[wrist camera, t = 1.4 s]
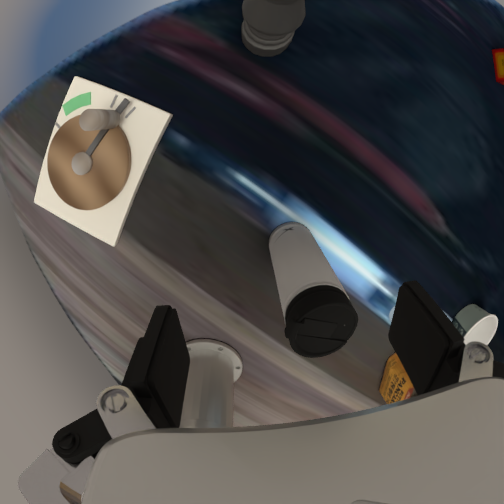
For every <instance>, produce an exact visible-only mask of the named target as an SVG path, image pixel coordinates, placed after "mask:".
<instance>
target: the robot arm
mask: <svg viewBox="0 0 504 504" xmlns="http://www.w3.org/2000/svg"><path fill="white" fill-rule="evenodd" d="M464 340H465V339H464V337H463V336H462V335H461V334H460V332H459V331H458V330H457V328H456V327H455V326H454V325H453V323H452V322H451V321H450V320H449V318H448V317H447V316H446V315H445V313H444V312H443V311H442V310H441V309H440V307H439V306H438V305H437V304H436V303H435V301H434V300H433V299H432V298H431V297H430V295H429V294H428V293H427V292H426V291H425V290H424V289H423V287H422V286H421V285H420V284H419V283H418V282H417V281H409V282H404V283H403V285H402V286H401V287H400V288H399V292H398V297H397V301H396V306H395V310H394V314H393V318H392V322H391V326H390V330H389V341H390V343H391V345H392V346H393V348H394V350H395V352H396V354H397V356H398V358H399V359H400V361H401V363H402V365H403V367H404V369H405V371H406V373H407V375H408V377H409V379H410V381H411V383H412V385H413V387H414V389H415V391H416V393H417V394H418V396H415V397H412V398H409V399H405V400H402V401H398V402H395V403H391V404H387V405H383V406H379V407H375V408H371V409H367V410H362V411H358V412H353V413H348V414H343V415H338V416H332V417H326V418H320V419H314V420H307V421H300V422H292V423H283V424H273V425H262V426H247V427H233V397H234V382H235V381H236V380H237V379H238V378H239V377H240V375H241V373H242V360H241V357H240V355H239V354H238V353H237V351H235V350H234V349H233V348H232V347H230V346H229V345H227V344H225V343H222V342H220V341H216V340H210V339H197V340H192V341H189V342H185V339H184V335H183V332H182V329H181V325H180V322H179V318H178V315H177V311H176V309H172V307H171V306H170V305H164V306H156V308H155V310H154V312H153V315H152V318H151V320H150V323H149V325H148V328H147V330H146V333H145V336H144V337H141V338H140V339H139V340H138V342H137V345H136V347H135V350H134V353H133V355H132V358H131V360H130V363H129V366H128V369H127V371H126V374H125V377H124V380H123V382H122V385H121V386H120V385H116V386H111V387H108V388H106V389H105V390H103V391H102V392H101V393H100V394H99V396H98V398H97V402H96V406H97V409H96V410H94V411H92V412H90V413H89V414H87V415H85V416H83V417H81V418H80V419H78V420H76V421H74V422H73V423H71V424H69V425H67V426H66V427H63V428H62V429H60V430H59V431H58V432H57V433H56V434H55V436H54V438H53V443H52V445H53V448H52V449H51V450H50V451H49V450H48V449H46V450H45V451H44V452H43V453H42V454H41V455H40V456H39V457H38V458H37V459H36V460H35V461H34V462H33V463H32V464H31V465H30V466H29V467H28V468H27V469H26V470H25V471H24V472H23V473H22V474H21V475H20V477H19V480H18V486H19V489H20V491H21V493H22V494H23V496H24V497H25V498H26V500H27V501H28V502H29V504H504V364H503V363H500V362H497V361H494V360H493V353H492V351H491V349H490V348H489V347H488V346H487V345H485V344H484V343H481V342H477V341H473V342H469V343H468V344H467V345H465V343H464ZM83 492H84V494H83V498H82V502H81V495H82V493H83Z"/></svg>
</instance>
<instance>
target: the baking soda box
mask: <svg viewBox="0 0 504 504" xmlns="http://www.w3.org/2000/svg"><path fill="white" fill-rule="evenodd" d="M492 53H493V60H494V67H495V75H496V82H498V83H501V84H503V85H504V48H503V49H493V50H492Z"/></svg>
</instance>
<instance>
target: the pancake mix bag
mask: <svg viewBox="0 0 504 504" xmlns="http://www.w3.org/2000/svg"><path fill="white" fill-rule="evenodd" d="M379 392H380V393H381V395H382V396H383V398H384V399H385V401H386V403H387V404H391V403H395V402H398V401H402V400H405V399H409V398H412V397H415V396H418V394H417V393H416V391H415V389H414V387H413V385H412V383H411V381H410V379H409V377H408V375H407V373H406V371H405V369H404V367H403V365H402V363H401V361H400V359H399V358H398V356H397V354H396V352H395V353H394V354H393V355H391V356H390V357H389V358H388V360H387V362H386V366H385V370H384V374H383V378H382V381H381V384H380V388H379Z"/></svg>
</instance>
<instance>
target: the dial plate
mask: <svg viewBox="0 0 504 504" xmlns="http://www.w3.org/2000/svg"><path fill="white" fill-rule="evenodd" d="M124 98H126V99H128V100H129V101H130V103H129V104H128V106H127V107H126V108H125V109H124V111H123V112H122V113H121V115H120V123H119V124H118V125H119V126H120V127H121V129H122V130H123V131H124V133H125V135H126V137H127V139H128V142H129V145H130V150H131V169H130V174H129V177H128V180H127V182H126V184H125V186H124V188H123V189H122V191H121V192H120V193H119V194H118V196H117V197H115V198H114V199H113V200H112V201H110V202H109V203H107V204H106V205H104V206H102V207H100V208H98V209H94V210H79V209H76V208H73V207H71V206H69V205H68V204H66V203H65V202H64V201H63V200H62V199H61V198H60V197H59V196H58V195H57V193H56V192H55V190H54V188H53V187H52V184H51V182H50V179H49V175H48V168H47V158H48V151H49V147H50V144H51V142H52V139H53V137H54V135H55V134H56V132H57V131H58V130H59V128H60V127H61V126H62V125H63V124H64V123H65V122H67V121H68V120H69V119H71V118H73V117H75V116H78V115H81V114H82V112H83V111H85V110H86V109H107V110H116V108H117V107H118V106H119V105H120V103H121V102H122V101H123V100H124ZM172 116H173V114H170V113H168V112H166V111H164V110H161V109H159V108H157V107H155V106H152V105H150V104H148V103H145V102H143V101H141V100H138V99H136V98H134V97H131V96H129V95H126V94H124V93H121V92H119V91H116V90H114V89H111V88H108V87H106V86H103V85H101V84H98V83H95V82H92V81H90V80H87V79H84V78H81V77H77V76H75V77H74V79H73V81H72V84H71V86H70V88H69V90H68V93H67V95H66V97H65V100H64V102H63V105H62V107H61V110H60V113H59V115H58V118H57V121H56V123H55V126H54V129H53V132H52V135H51V138H50V141H49V144H48V148H47V151H46V154H45V158H44V162H43V165H42V169H41V173H40V177H39V181H38V185H37V190H36V194H35V199H34V203H36V204H38V205H39V206H41V207H43V208H44V209H46V210H48V211H50V212H51V213H53V214H55V215H57V216H58V217H60V218H62V219H64V220H65V221H67V222H69V223H71V224H72V225H74V226H76V227H78V228H80V229H82V230H83V231H85V232H87V233H89V234H91V235H93V236H94V237H96V238H98V239H100V240H102V241H104V242H106V243H107V244H109V245H111V246H113V247H114V246H115V245H116V244H117V243H118V241H119V238H120V235H121V232H122V230H123V227H124V224H125V221H126V219H127V216H128V213H129V211H130V208H131V206H132V203H133V201H134V198H135V196H136V193H137V191H138V188H139V186H140V184H141V181H142V179H143V177H144V174H145V172H146V170H147V168H148V165H149V163H150V161H151V159H152V157H153V154H154V152H155V150H156V148H157V146H158V144H159V142H160V140H161V138H162V136H163V134H164V132H165V130H166V128H167V126H168V124H169V122H170V120H171V118H172Z"/></svg>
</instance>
